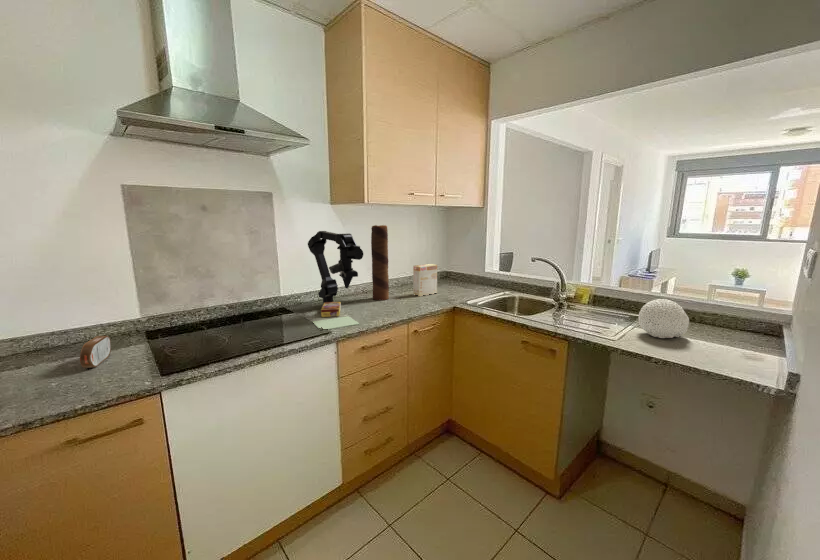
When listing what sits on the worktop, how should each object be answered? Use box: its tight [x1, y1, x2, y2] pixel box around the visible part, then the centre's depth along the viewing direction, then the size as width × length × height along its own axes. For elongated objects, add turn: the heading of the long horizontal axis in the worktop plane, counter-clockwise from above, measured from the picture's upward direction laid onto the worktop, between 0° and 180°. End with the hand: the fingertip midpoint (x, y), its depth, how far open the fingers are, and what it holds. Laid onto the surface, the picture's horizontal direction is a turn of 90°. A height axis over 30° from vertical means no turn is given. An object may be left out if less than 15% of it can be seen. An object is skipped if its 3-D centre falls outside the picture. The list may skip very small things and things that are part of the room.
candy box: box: [320, 301, 342, 318], centre depth 170 cm, size 9×4×15 cm
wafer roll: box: [370, 224, 390, 301], centre depth 198 cm, size 10×11×45 cm
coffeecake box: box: [412, 263, 438, 297], centre depth 213 cm, size 15×7×20 cm, turn 124°
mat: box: [312, 315, 360, 331], centre depth 153 cm, size 14×18×1 cm
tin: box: [79, 335, 112, 369], centre depth 109 cm, size 15×3×8 cm, turn 22°
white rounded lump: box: [637, 298, 690, 339], centre depth 137 cm, size 20×18×16 cm
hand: (346, 288), depth 169 cm, fingers closed
